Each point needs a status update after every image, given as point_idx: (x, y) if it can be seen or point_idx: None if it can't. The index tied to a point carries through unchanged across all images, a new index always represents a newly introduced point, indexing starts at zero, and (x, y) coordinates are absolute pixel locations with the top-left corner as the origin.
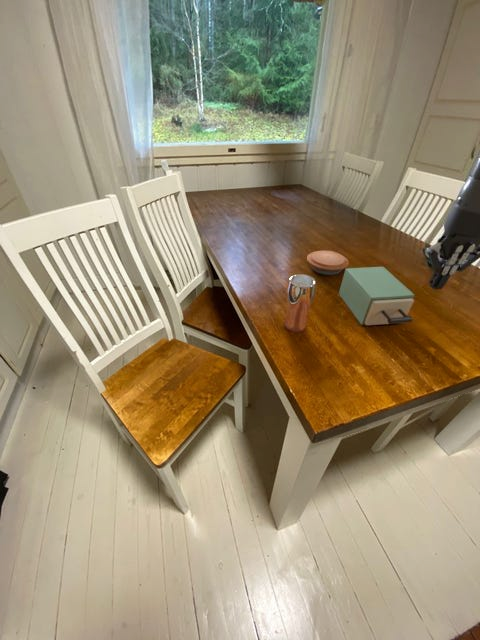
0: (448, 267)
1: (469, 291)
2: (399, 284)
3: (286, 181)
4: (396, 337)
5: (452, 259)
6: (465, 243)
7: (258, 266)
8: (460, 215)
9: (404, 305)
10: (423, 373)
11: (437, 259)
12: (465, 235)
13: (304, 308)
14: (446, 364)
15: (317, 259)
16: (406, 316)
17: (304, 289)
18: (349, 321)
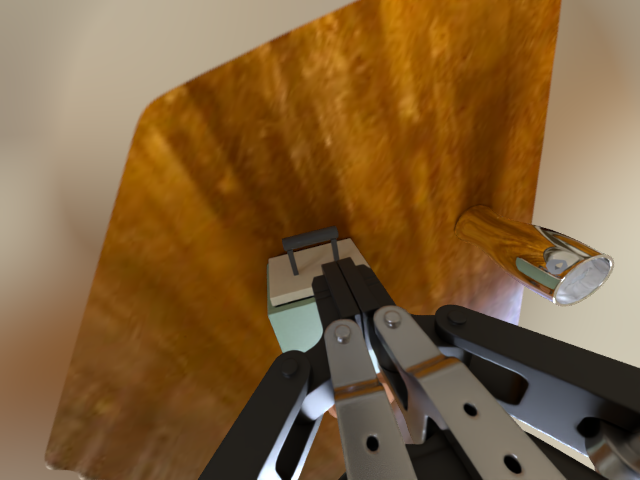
0: (406, 352)
1: (75, 387)
2: (290, 346)
3: None
4: (294, 214)
5: (488, 419)
6: None
7: None
8: None
9: (289, 284)
10: (274, 99)
11: (597, 384)
12: None
13: (526, 228)
14: (206, 135)
15: (388, 392)
16: (291, 251)
17: (593, 251)
18: (371, 248)
